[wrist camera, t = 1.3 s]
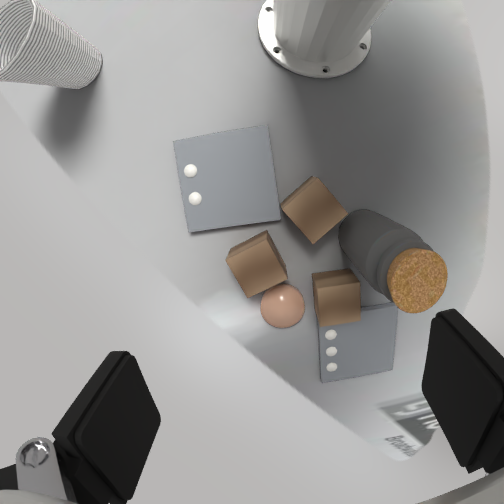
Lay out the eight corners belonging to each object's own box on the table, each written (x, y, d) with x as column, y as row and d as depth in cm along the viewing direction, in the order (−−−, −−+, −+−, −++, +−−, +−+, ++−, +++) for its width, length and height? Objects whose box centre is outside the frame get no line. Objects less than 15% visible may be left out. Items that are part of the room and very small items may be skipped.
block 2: (280, 203, 33) (282, 209, 29) (311, 176, 32) (318, 177, 28) (307, 234, 34) (313, 244, 30) (338, 207, 33) (348, 213, 29)
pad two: (175, 142, 32) (172, 141, 31) (267, 126, 31) (267, 124, 30) (190, 230, 35) (188, 232, 34) (280, 218, 34) (281, 219, 33)
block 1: (230, 248, 35) (225, 260, 31) (266, 229, 34) (266, 239, 30) (250, 282, 36) (247, 298, 32) (285, 264, 35) (287, 279, 31)
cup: (115, 32, 28) (44, -18, 13) (108, 93, 31) (23, 64, 16) (62, 46, 29) (-15, 15, 14) (54, 104, 31) (-32, 90, 16)
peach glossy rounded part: (258, 285, 36) (257, 291, 35) (301, 280, 36) (302, 285, 34) (263, 323, 38) (263, 329, 36) (305, 318, 37) (306, 324, 36)
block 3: (311, 273, 35) (317, 288, 31) (349, 268, 35) (360, 282, 31) (314, 308, 37) (320, 327, 32) (351, 303, 36) (360, 320, 32)
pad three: (317, 314, 37) (318, 318, 36) (394, 301, 36) (397, 305, 35) (320, 378, 39) (321, 383, 38) (390, 365, 38) (392, 370, 37)
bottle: (352, 269, 35) (399, 334, 20) (328, 225, 34) (370, 270, 19) (394, 243, 34) (462, 293, 19) (372, 199, 33) (440, 226, 18)
